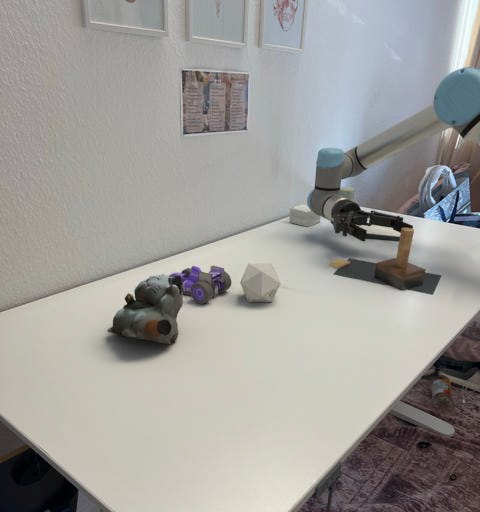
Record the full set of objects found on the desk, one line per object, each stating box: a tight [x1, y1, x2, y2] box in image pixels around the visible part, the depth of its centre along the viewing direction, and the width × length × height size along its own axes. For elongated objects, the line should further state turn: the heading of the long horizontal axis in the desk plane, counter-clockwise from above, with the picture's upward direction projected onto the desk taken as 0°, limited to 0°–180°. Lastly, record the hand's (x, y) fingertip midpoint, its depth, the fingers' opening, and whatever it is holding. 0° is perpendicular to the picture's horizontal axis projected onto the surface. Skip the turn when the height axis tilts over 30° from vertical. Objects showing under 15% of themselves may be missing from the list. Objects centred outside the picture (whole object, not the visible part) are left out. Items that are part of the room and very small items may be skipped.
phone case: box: [358, 225, 401, 242], centre depth 153 cm, size 9×2×16 cm
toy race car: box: [168, 265, 232, 305], centre depth 109 cm, size 10×15×6 cm, turn 57°
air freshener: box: [339, 186, 359, 205], centre depth 171 cm, size 11×8×10 cm
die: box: [239, 263, 282, 303], centre depth 106 cm, size 8×9×10 cm
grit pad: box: [328, 259, 350, 270], centre depth 126 cm, size 5×5×1 cm
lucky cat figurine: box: [106, 274, 184, 345], centre depth 90 cm, size 15×12×14 cm
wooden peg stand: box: [374, 228, 426, 291], centre depth 113 cm, size 9×7×13 cm
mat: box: [332, 257, 442, 296], centre depth 120 cm, size 24×14×1 cm, turn 61°
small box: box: [288, 204, 321, 228], centre depth 164 cm, size 8×8×5 cm
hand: (388, 233), depth 117 cm, fingers open, 13 cm apart
